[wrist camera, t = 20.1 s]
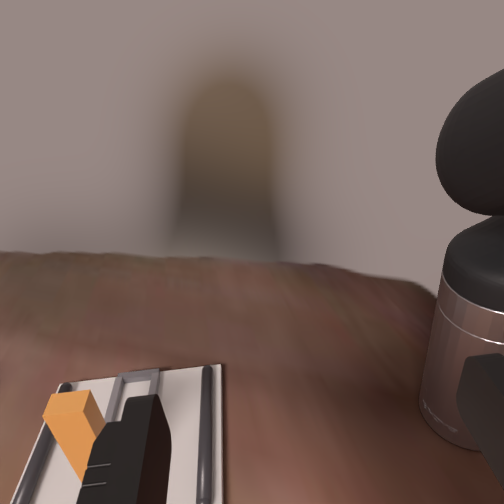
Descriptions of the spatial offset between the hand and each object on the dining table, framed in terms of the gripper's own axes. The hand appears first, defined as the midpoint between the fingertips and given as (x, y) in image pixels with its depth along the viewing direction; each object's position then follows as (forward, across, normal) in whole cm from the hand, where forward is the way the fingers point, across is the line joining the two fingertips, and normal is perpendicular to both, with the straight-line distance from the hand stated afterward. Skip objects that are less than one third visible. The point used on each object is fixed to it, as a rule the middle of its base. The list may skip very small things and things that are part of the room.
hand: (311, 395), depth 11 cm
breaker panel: (+20, +16, +30) cm, 39 cm away
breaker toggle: (+14, +16, +28) cm, 35 cm away
